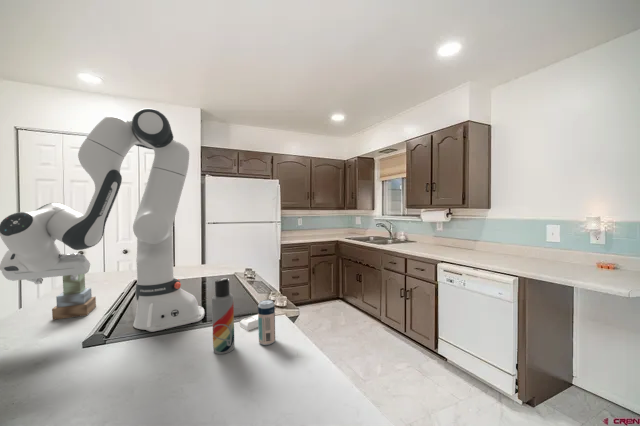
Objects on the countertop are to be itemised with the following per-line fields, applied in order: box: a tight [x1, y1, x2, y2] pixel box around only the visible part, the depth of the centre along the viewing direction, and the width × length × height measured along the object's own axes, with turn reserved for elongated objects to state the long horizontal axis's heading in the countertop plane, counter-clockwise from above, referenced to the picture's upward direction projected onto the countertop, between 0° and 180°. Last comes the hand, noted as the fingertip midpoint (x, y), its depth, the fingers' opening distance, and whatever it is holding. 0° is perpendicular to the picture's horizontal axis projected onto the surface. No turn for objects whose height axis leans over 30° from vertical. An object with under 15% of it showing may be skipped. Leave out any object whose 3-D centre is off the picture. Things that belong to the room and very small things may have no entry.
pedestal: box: [51, 287, 97, 321], centre depth 109 cm, size 10×10×8 cm
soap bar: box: [239, 314, 258, 331], centre depth 97 cm, size 5×9×3 cm, turn 133°
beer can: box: [257, 299, 276, 346], centre depth 84 cm, size 5×5×12 cm
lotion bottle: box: [211, 278, 235, 355], centre depth 80 cm, size 6×6×20 cm
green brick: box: [62, 274, 86, 295], centre depth 109 cm, size 5×5×10 cm
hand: (57, 280), depth 96 cm, fingers open, 8 cm apart
